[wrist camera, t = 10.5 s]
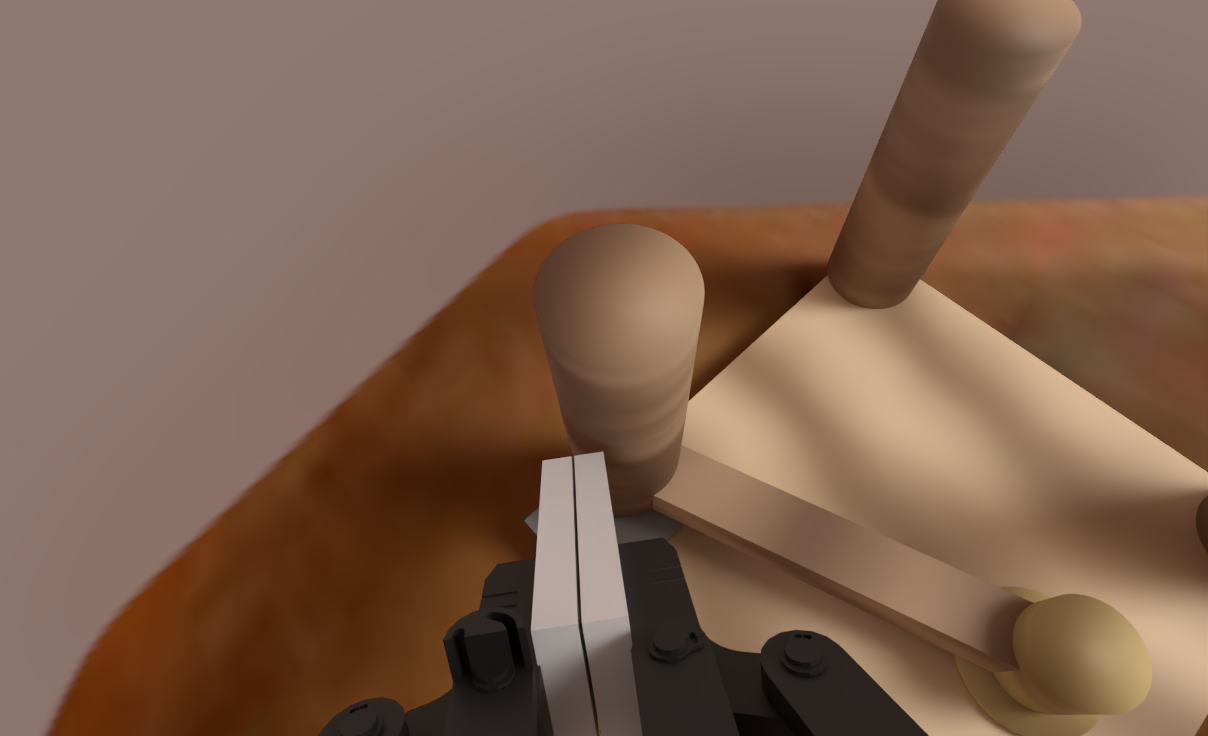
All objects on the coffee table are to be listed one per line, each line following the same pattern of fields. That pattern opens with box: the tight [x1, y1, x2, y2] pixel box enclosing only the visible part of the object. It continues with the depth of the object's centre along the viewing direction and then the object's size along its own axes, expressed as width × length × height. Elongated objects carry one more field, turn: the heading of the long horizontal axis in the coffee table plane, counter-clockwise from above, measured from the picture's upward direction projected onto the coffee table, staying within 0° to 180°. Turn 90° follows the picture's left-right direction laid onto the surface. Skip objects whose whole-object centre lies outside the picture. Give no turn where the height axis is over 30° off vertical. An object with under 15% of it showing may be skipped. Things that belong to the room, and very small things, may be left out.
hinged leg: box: [533, 224, 1152, 715], centre depth 17 cm, size 17×4×11 cm, turn 63°
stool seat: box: [524, 0, 1208, 736], centre depth 18 cm, size 19×19×13 cm
